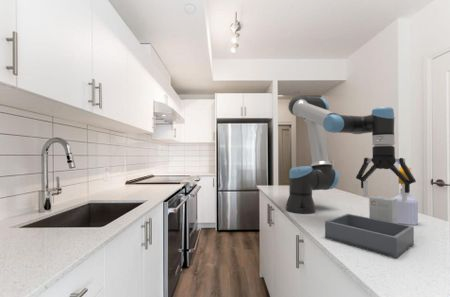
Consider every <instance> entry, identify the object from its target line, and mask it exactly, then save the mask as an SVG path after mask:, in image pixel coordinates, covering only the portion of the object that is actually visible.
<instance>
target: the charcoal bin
mask: <svg viewBox="0 0 450 297" xmlns="http://www.w3.org/2000/svg"><path fill="white" fill-rule="evenodd" d="M414 229H415V226H414V225H406V224H400V223H392V222H387V221H382V220H377V219H372V218H370V217H365V216H361V215H356V214H350V213H345V214H342V215H340V216H337V217H334V218H330V219H327V220H326V221H325V222H324V237H325V239H328V240H332V241H335V242H339V243H340V244H341V243H342V244H345V245H347V246H348V245H349V246H351V247H355V248H358V249H362V250H366V251H370V252H373V253H376V254H380V255H382V256H386V257H390V258H393V259H398V258H399V257H401V255H403V254H404V253H405V252H406V251H408V250H409V249H410V248H411V247H413V246H414V244H415V242H414V241H415V239H414V238H415V234H414V233H415V230H414Z"/></svg>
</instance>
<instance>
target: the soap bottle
mask: <svg viewBox="0 0 450 297" xmlns="http://www.w3.org/2000/svg"><path fill="white" fill-rule="evenodd" d="M408 169H409V170H410V171H411V170H412V168H411V167H408ZM398 170H399V171H400V172H401V173H402V174H403V175H404V176H405V177H406V178H407V179H408V177H407V176H406V174H405V172H404V171H403V169H402V167H401V166H400V167H399V168H398ZM408 180H409V179H408ZM398 184H399V185H400V186H401V187H402V184H405V183H404V182H403V181H402V180H401V179H400V178H399V177H398ZM410 193H411V191H410V192H409V193H407V201H405V202H402V188H400V193H399V194H398V195H396V196H393V198H395V199H397V224H403V225H408V226H415V225H418V223H419V202H418V200H417V198H416V197H414V196H412V194H410Z"/></svg>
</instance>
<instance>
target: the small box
mask: <svg viewBox="0 0 450 297" xmlns="http://www.w3.org/2000/svg"><path fill="white" fill-rule="evenodd" d="M368 200H369V203H368V204H369V207H368V208H369V209H368V210H369V217H368V218H372V219H377V220H382V221H387V222H392V223H397V199H395V198H394V197H384V196H378V195H374V196H370V197H369V199H368ZM397 224H398V223H397Z"/></svg>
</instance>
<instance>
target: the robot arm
mask: <svg viewBox="0 0 450 297" xmlns="http://www.w3.org/2000/svg"><path fill="white" fill-rule="evenodd" d="M287 106H288V108H287V109H288V111H289V113H290V114H291V115H293V116H295V117H298V118H301V117H302V118H303V121H304V122H305V123H306V124H307V130H308V131H307V132H308V140H309V146H310V147H309V148H310V154H311V155H310V156H311V165H304V166H301V165H300V166H294V167H291V168H290V170H289V176H288V178H289V193H288V194H289V195H288V199H287V201H286V204H285V209H286V211H288V212H290V213H296V214H313V213H316V205H315V202H314V199H313V191H328V190H334V188H336V186H337V185H338V184H339V179H340V176H339V173H338V171H337V170H336V168H333V164H332V163H331V162H330V161H329V154H328V148H327V147H328V146H327V139H326V133H325V131H326V132H328V133H333V134H335V133H340V134H341V133H343V134H352V135H362V134H369V133H371V134H372V144H371V145H372V151H371V152H372V157H371V158H369V157H364V158H363V162H362V165H361V167H360V169H359V171H358V172H357V174H356V176H355V179H357V180H359V181H360V188H361V189H363V192H362V193H363V194H362V196H363V198H367V197H369V183H368V180H367V179H369V177H370V176H371V175H373V173H374V172H375V171H376V170H377V169H378V170H389V169H390V170H391V171H392V172H393V173H394V174H395V175H396V176H397V177H398V179H399V178H400V179H401V180H402V181H403V182H404V183H405V184H402V186H401V189H402V202H405V201H407V193H409V192H410V193H411V190H410V188H411V186H410V185H411V184H414V183H416V179H415V177H414V175H413V173H412V172H411V170H409V169H408V168H409V167H408V166H407V164H406V158H404V157H400V158H396V157H395V156H396V155H395V154H396V151H395V146H394V145H395V143H396V142H395V119H396V118H395V112H394V108H393V107H392V106H380V107H379V106H378V107H374V108H372V110H371V114H369V115H362V116H361V115H360V116H359V115H346V114H345V115H343V114H339V113H337V112H334V111H330V109H329V103H328V100H327V99H325V98H324V97H320V96H308V95H307V96H306V95H297V96H294V97H293V98H291V99H290V101H289V102H288V105H287ZM371 162H372V166H371V167H370V168H369V170H367V168H368V167H369V165H370V163H371ZM396 162H397V164H398V165H400V168H401V167H402V169H403V171H404V172H405V174H406V176H407V177H408V179H409V180H408V179H407V178H406V177H405V176H404V175H403V174H402V173H401V172H400V171H399V168H397V167H396V166H395V164H396Z"/></svg>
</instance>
